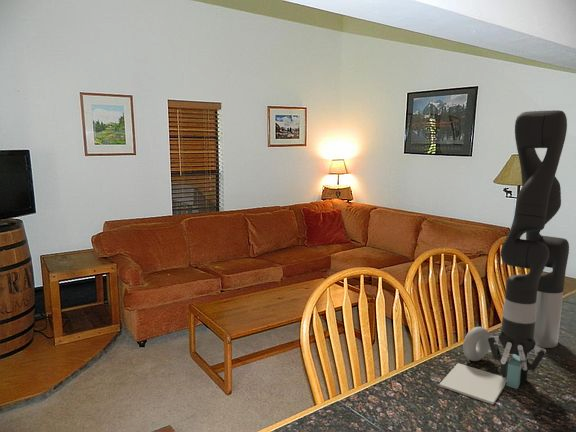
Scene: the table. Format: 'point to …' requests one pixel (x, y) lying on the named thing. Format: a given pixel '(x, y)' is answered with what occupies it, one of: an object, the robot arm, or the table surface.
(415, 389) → the table surface
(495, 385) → the mat
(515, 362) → the box
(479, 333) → the donut
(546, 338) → the robot arm
